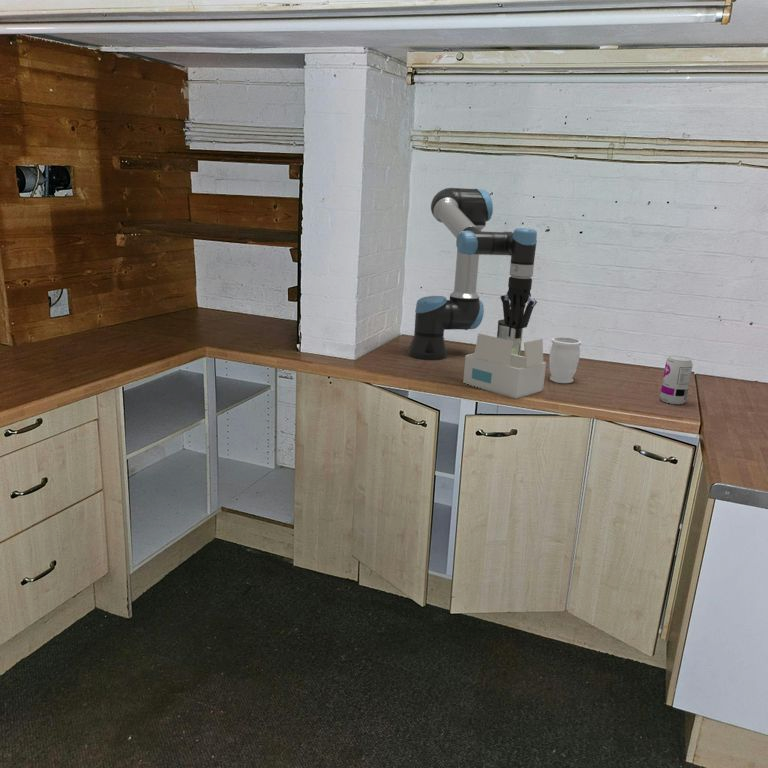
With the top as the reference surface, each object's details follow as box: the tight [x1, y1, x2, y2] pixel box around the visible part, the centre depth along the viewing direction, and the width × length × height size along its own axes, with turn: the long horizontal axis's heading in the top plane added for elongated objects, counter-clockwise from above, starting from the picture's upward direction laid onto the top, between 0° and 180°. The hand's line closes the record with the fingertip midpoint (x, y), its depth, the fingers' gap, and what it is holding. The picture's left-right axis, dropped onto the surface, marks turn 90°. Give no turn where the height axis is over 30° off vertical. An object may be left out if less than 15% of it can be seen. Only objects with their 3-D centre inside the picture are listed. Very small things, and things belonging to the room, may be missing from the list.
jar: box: [548, 336, 582, 384], centre depth 250 cm, size 11×10×15 cm
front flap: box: [473, 332, 514, 366], centre depth 230 cm, size 14×8×1 cm
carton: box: [462, 352, 547, 400], centre depth 239 cm, size 23×17×10 cm
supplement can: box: [659, 355, 694, 406], centre depth 231 cm, size 8×8×15 cm
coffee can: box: [496, 318, 524, 356], centre depth 283 cm, size 10×10×14 cm
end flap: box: [523, 338, 544, 367], centre depth 229 cm, size 8×10×1 cm
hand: (513, 347), depth 234 cm, fingers closed
